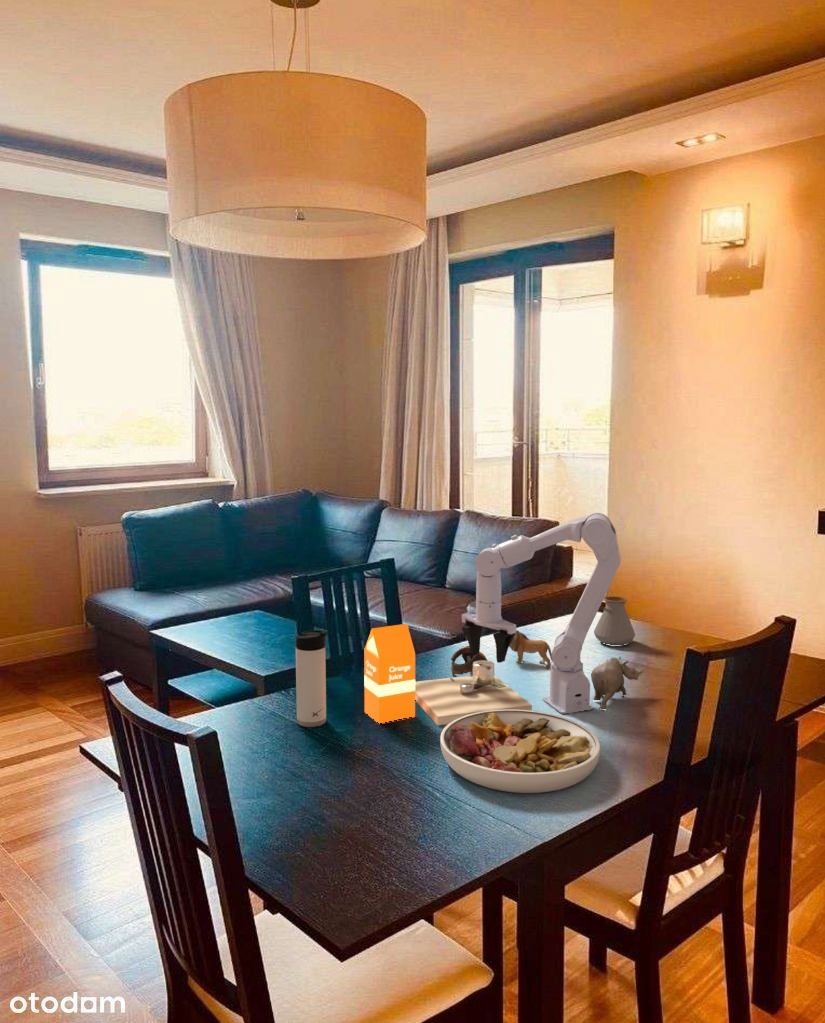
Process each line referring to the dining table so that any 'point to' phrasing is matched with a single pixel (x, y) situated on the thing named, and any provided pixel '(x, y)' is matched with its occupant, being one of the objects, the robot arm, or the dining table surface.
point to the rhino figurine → (611, 679)
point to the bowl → (520, 750)
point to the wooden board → (464, 698)
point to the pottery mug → (468, 661)
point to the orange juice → (389, 674)
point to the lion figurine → (530, 648)
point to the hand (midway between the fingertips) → (487, 657)
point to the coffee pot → (614, 623)
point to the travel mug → (311, 678)
